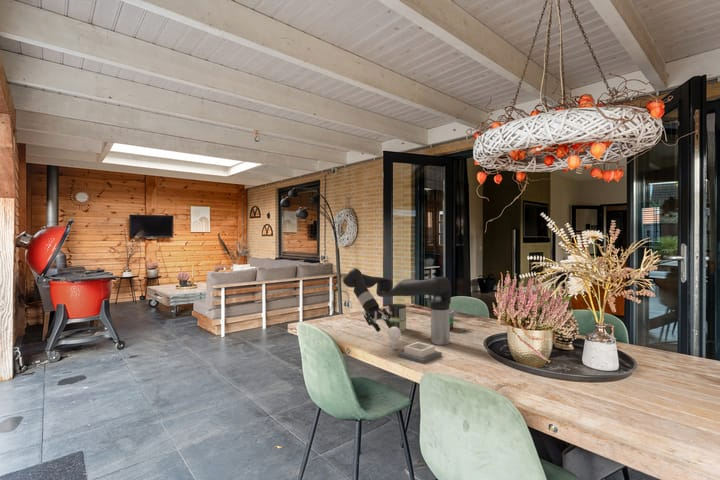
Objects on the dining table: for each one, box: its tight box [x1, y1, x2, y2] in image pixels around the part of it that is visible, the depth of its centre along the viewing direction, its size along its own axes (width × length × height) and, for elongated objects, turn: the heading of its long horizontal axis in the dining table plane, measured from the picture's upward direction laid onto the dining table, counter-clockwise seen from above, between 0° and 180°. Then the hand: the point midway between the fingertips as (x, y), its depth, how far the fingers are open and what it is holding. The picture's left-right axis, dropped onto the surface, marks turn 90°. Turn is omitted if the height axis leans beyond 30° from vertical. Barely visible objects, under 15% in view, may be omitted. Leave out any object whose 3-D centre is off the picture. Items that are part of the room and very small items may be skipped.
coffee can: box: [388, 303, 407, 332], centre depth 215 cm, size 10×10×14 cm
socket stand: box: [397, 341, 443, 364], centre depth 167 cm, size 14×14×4 cm
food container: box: [449, 309, 456, 331], centre depth 214 cm, size 12×6×10 cm, turn 131°
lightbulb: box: [387, 327, 402, 351], centre depth 177 cm, size 6×6×11 cm
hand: (385, 329), depth 180 cm, fingers open, 8 cm apart
